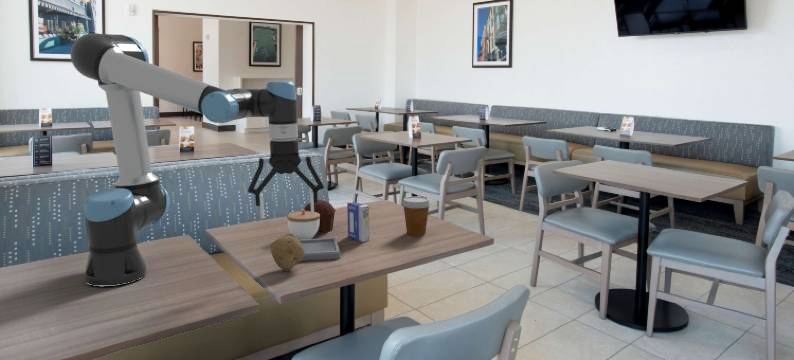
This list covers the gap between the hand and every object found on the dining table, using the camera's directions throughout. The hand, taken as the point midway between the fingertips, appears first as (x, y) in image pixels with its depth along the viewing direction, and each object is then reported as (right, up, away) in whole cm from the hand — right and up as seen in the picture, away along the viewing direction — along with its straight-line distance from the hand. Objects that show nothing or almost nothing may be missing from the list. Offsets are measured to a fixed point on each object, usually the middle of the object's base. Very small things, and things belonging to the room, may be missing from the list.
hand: (287, 215), depth 162 cm
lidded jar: (-1, -9, +33) cm, 35 cm away
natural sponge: (0, -16, +3) cm, 16 cm away
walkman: (+17, -10, +32) cm, 38 cm away
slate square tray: (+5, -12, +18) cm, 22 cm away
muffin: (+3, -7, +43) cm, 44 cm away
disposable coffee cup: (+37, -8, +38) cm, 54 cm away
